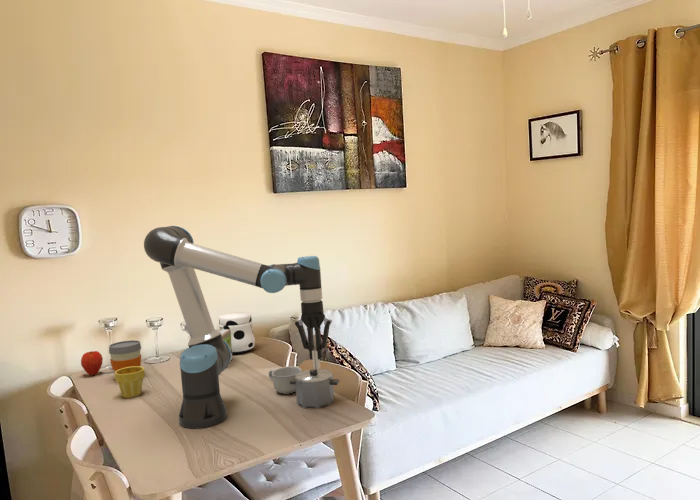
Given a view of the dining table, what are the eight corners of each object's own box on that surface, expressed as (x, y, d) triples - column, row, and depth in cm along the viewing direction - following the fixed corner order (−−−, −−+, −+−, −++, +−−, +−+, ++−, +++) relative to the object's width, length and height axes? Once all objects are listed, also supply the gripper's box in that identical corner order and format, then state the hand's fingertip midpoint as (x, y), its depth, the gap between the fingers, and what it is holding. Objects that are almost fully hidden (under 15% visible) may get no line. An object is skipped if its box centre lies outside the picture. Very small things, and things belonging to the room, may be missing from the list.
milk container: (261, 346, 270) (258, 311, 269) (246, 356, 253) (243, 318, 252) (229, 346, 274) (226, 311, 273) (213, 356, 257) (210, 318, 256)
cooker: (334, 409, 178) (333, 382, 178) (286, 408, 182) (285, 381, 181) (344, 395, 191) (342, 370, 191) (299, 394, 195) (297, 369, 194)
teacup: (308, 390, 199) (307, 369, 199) (286, 398, 192) (284, 376, 191) (284, 383, 209) (283, 363, 208) (262, 391, 201) (260, 370, 201)
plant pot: (135, 400, 199) (133, 374, 199) (111, 399, 202) (108, 374, 201) (151, 390, 210) (149, 366, 209) (127, 390, 212) (125, 365, 211)
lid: (326, 383, 178) (326, 376, 178) (290, 382, 181) (290, 376, 180) (336, 371, 190) (335, 365, 190) (302, 370, 193) (301, 364, 193)
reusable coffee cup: (108, 379, 229) (105, 344, 228) (139, 372, 236) (136, 338, 235) (115, 385, 219) (112, 349, 218) (147, 378, 226) (144, 343, 225)
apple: (84, 379, 230) (82, 354, 229) (80, 375, 236) (77, 351, 236) (106, 375, 235) (103, 350, 234) (101, 371, 242) (98, 347, 241)
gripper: (333, 298, 188) (338, 365, 189) (296, 300, 191) (302, 365, 192) (327, 301, 181) (332, 371, 182) (289, 303, 184) (295, 371, 185)
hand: (316, 368), depth 187 cm, fingers closed
